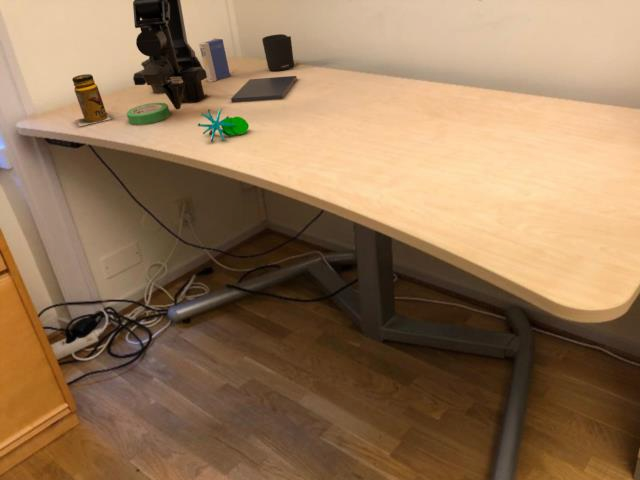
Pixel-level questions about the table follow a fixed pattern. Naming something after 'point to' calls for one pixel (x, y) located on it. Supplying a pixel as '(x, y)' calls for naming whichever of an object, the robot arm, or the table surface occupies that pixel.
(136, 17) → the robot arm
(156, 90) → the coffee cup
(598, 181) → the table surface
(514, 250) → the table surface
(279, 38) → the black speaker
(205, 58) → the blue white rectangular box
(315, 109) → the table surface
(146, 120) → the tape roll
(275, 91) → the notebook
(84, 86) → the condiment
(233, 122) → the stick construction toy
